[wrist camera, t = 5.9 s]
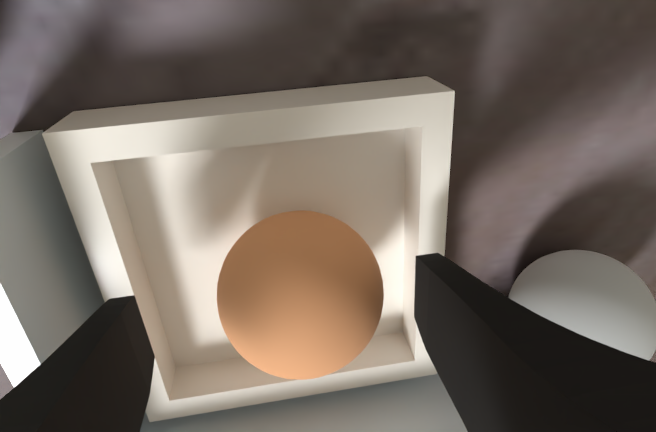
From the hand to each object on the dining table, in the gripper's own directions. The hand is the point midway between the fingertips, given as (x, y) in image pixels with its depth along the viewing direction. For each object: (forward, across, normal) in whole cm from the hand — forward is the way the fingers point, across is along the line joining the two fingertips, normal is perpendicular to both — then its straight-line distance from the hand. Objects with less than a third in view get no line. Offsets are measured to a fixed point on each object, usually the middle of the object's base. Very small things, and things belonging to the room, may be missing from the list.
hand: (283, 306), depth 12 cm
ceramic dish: (+3, 0, 0) cm, 3 cm away
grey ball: (+3, -10, +3) cm, 10 cm away
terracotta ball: (+2, 0, 0) cm, 2 cm away
